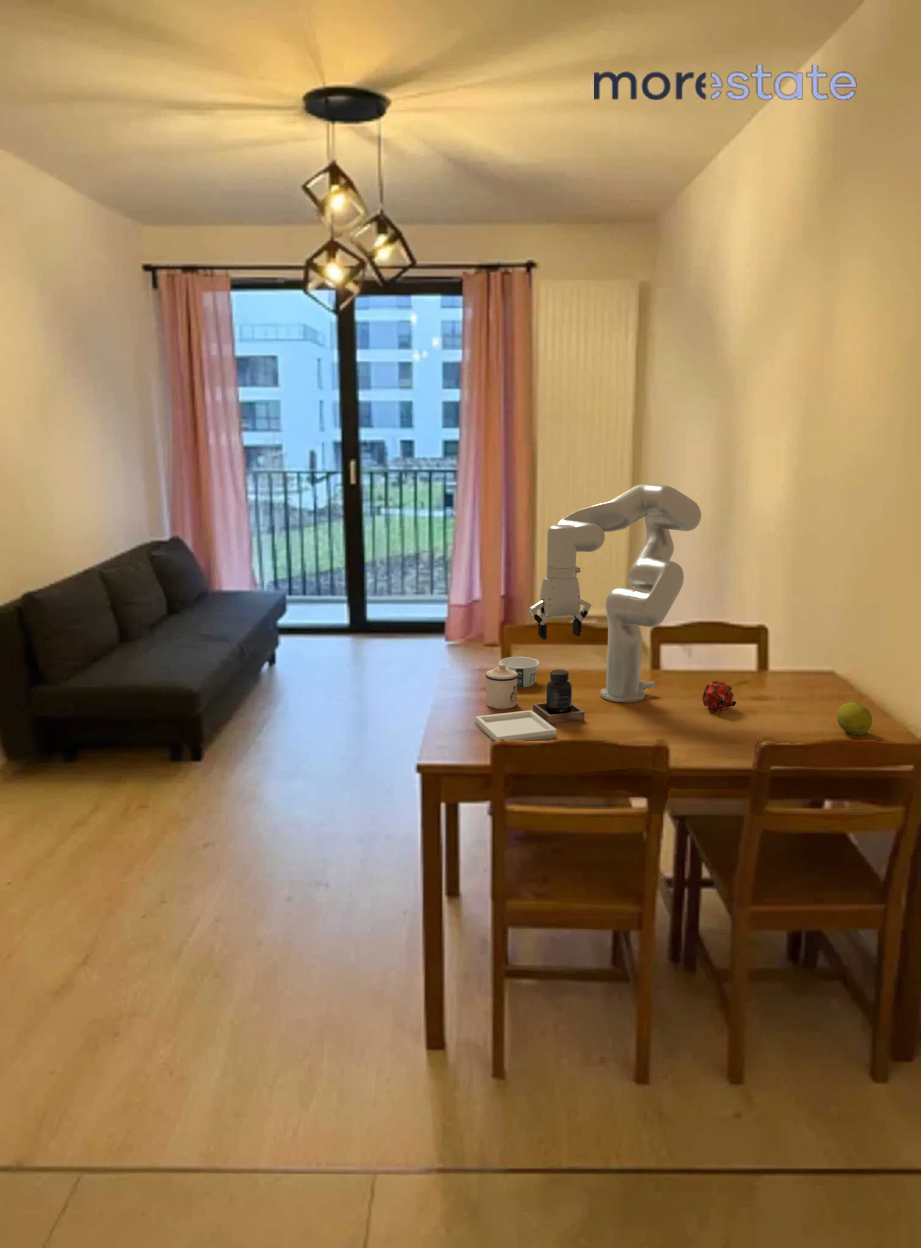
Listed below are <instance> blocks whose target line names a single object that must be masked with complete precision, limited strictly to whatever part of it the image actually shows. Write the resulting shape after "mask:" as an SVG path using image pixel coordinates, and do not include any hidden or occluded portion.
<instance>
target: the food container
mask: <svg viewBox="0 0 921 1248" xmlns="http://www.w3.org/2000/svg"><path fill="white" fill-rule="evenodd" d="M499 664H505V667H507V668H509V669H511V670H514V671H516V672H517V674H518V677H517V688H528V687H531V685H532V686H533V685H535V682H536V676H537V670H538V667H539V665H540V661H539V660H538V659H536V658H533V657H527V656H526V657H525V656H510V657H509V656H508V657H505V658H502V659H501V660H499Z"/></svg>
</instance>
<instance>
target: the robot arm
mask: <svg viewBox="0 0 921 1248" xmlns="http://www.w3.org/2000/svg"><path fill="white" fill-rule="evenodd" d="M642 518H644V525H645V529H646V532H645V533H646V538H645V541H644V544H643V546H642V547H641V549H640V551H639V552H638V554H637V556H636V558H635V559H634V561H633V564H631V567H630V568H629V571H628V573H627V582H628V584H629V585H630V586H631V587H632V588H631V587H623V586H622V587H616V588H613V590H611V591H610V592H609V593H608V594H607V597H606V599H605V614H606V618H607V620H606V621H607V630H608V631H607V655H606V656H607V659H606V677H605V678H606V680H605V683H606V684H605V687H604V688H602V689H601V690H600V692H599V693H600V694H599V695H600V696H601V698H603V699H605V700H608V701H610V702H615V703H635V702H640V701H642V700H644V699H645V697H646V693H645V692H644V691H645V690H646V689H654V688H656V684H655V681H647V680H641V668H642V666H641V665H642V645H643V637H642V636H643V635H642V631H641V628H640V626H641V627H646V628H655V627H658V626H659V625H660V624H661V623H662V622H663V621H664V619H665V618H666V617H667V616H668V613H669V611H670V610H671V608H672V606H673V604H674V603H675V601H676V599H677V597H678V596H679V594H680V592H681V590H682V587H683V584H684V578H685V577H684V576H685V575H684V570H683V568H682V566H681V564H679V563H677V562H674V561H672V560H671V558H672V556H673V554H674V550H675V549H674V547H675V545H674V542H673V538H672V536H671V532H670V530H675V531H681V532H689V531H693V530H695V529H696V528H697V527H698V526H699V525H700V522H701V521H702V520H701V519H702V511H701V508H700V505H698V503H697V502H695V501H694V500H693V499H692V498H690V497H688V496H687V495H685V494H684V493H682V492H681V491H679V490H678V489H676V488H674V487H672V486H670V485H666V484H665V485H664V484H663V485H662V484H652V483H641V484H637V485H634V486H633V487H631V488H630V489H627V490H626V491H624V492H623V493H621V494H619V495H618V496H616V497H615V498H613V499H611V500H609V501H606V502H601V503H598V504H595V505H591V506H588V507H584V508H581V509H579V510H575V511H574V512H571V513H570V514H568V515H566V516H564V517H563V518H562V519H560V520H559V521H558V522H557V523H556V524H555V525H554V524H553V525H550V527H548V529H547V538H546V540H547V541H546V577H543V579H542V581H541V582H542V583H541V588H540V596H539V601H538V602H537V603H535V604H534V605H531V606H530V607H529V608H528V610H529V612H530V614H531V616H532V618H533V619H534V620H535V622H536V623H538V627H537V634H538V637H539V638H540V639H542V640H544V641H545V640H547V637H548V636H547V635H548V634H547V633H548V630H547V629H548V626H547V624H546V623H547V621H548V620H549V619H550V618H558V617H559V618H560V617H570V616H572V617H574V619H573V620H572V635H574V636H576V637H581V633H582V622H584V619H585V618H586V617H587V615H588V613H589V611H590V609H591V607H592V603H590V602H587V601H586V600H584V599H582V598H581V589H580V583H579V578H578V577H577V574H578V573H581V568H580V567H579V566H577V553H578V552H579V553H580V552H584V553H591V552H596V551H597V550H599V549H600V548H601V547H602V546H603V545H604V542H605V540H606V538H605V533H607V532H608V533H611V532H616V531H621V530H625V529H627V528H628V527H630V526H631V525H633V524H634V523H636V522H638V521H639V520H641V519H642ZM581 606H583V608H582V610H581ZM537 611H539V613H540V615H539V614H538V612H537Z"/></svg>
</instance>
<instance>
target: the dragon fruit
mask: <svg viewBox="0 0 921 1248" xmlns="http://www.w3.org/2000/svg"><path fill="white" fill-rule="evenodd" d="M732 689H733V687H732V686H731V685H730V684H726V683H725V681H723V680H712V681H711V682H710V683H709V684H707V685H706V686H704V688H703V693H702V698H701V700H702V702H703V706H704V707H708V709H709V710H710V712H712V713H714V714H715V713H718V712H719V711H720V710H721V711H726V710H728V709H729V707H735V706H736V704H737V701H735V700H734V698H733V697H735V694H734V693H733V691H732Z"/></svg>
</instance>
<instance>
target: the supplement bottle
mask: <svg viewBox="0 0 921 1248" xmlns="http://www.w3.org/2000/svg"><path fill="white" fill-rule="evenodd" d="M549 674H550V675H549V680H548V681H547V683H546V693H545V696H546V698H545V703H546V712H547V713H548V714H550V715H553V714H562V713H570V712H571V707H572V703H573V701H572V699H573V697H572V696H573V695H572V694H573V684H572V683H571V681H570V677H569V671H568V670H565V669H554V670H550V673H549Z"/></svg>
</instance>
